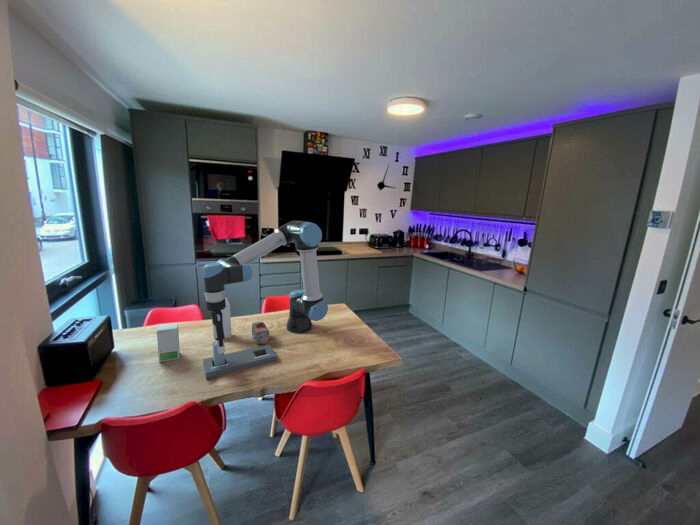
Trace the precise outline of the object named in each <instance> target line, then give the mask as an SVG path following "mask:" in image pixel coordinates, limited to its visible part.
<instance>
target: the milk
mask: <svg viewBox="0 0 700 525" xmlns="http://www.w3.org/2000/svg"><path fill="white" fill-rule="evenodd" d="M225 301H226V307H225V308H224V309H223V310H221V312H222V319H223V330H224V337H225V339H230V338H232V323H231V322H232V320H231V317H232V316H231V304H230V302H229V298H228V297H225ZM225 339H224V340H225Z"/></svg>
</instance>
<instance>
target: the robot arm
mask: <svg viewBox="0 0 700 525" xmlns="http://www.w3.org/2000/svg"><path fill="white" fill-rule="evenodd" d="M322 239H323V232H322V230H321V228H320V227H319V226H318V225H317V224H316V223H313V222H310V221H305V220H304V221H303V220H291V221H289V222H287V223H285V224H283V225H280V227H277V228H276V229H274V232H272V233H271V234H268V236H266V237H264V238H262V239H259V240H258V241H257V242H255V243H253V244H251V245H249V246H248V247H246V248H244V249H242V250H240V251H239V252H237V253H235V254H233V255H231V256H229V257H227V258H221V259H218V260H217V262H211V263H207V264H205V265H203V270H202V271H203V272H202V273H203V284H204V293H203V296H204V297H205V305H206V306H205V308H206V310H207V311H208V312H211V313H210V314H211V320H212V321H211V322H212V329H213V330H212V332H213V340H215V341H216V340H217V348H218V354H219V353H224V354H225V353H226V349H225V348H226V346H225V337H224V330H223V319H222V312H221V310H223V309H224V308H225V307H226V301H225V298H226V289H225V285H231V284H237V283H244V282H247V281H248V282H249V281H250V280H252V279H253V278H252V277H253V269H252V267H251V266H250V264H253V262H255V261H257V260H259V259H260V258H262V257H265V256H266V255H267V254H269V253H271V252H272V251H274V250H275V249H278V248H279V247H281V246H286V245H288V244H291V243H295V250H296V251H298V252H299V259H300V268H301V277H302V286H303V288H302V289H296V290H292V291H290V293H289V296H288V297H289V317H288V319H287V321H286V322H287V323H286V330H287V331H288V332H291V333H294V334H298V333H299V334H301V333H306V332H309V331H311V330H312V328H313V322H314V321H315V322H319V321H322V320H323V319H324V318H325V317H326V315H327V313H328V311H329V306H328V303H327V301H324V294H323V293H322V292H321V289H320V280H319V277H320V276H319V269H318V268H319V267H318V258H317V256H318V255H317V250H318V249H319V244H321V241H322Z"/></svg>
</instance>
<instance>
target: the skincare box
mask: <svg viewBox="0 0 700 525" xmlns="http://www.w3.org/2000/svg"><path fill="white" fill-rule="evenodd" d="M179 332H180V330H179V322H178V323H168V324H160V325H157V328H156V340H157V341H156V342H157V355H158V363H162V362H169V361H174V360H180V353H181V352H180V336H179V335H180V334H179Z"/></svg>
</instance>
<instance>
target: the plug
mask: <svg viewBox="0 0 700 525" xmlns="http://www.w3.org/2000/svg"><path fill="white" fill-rule="evenodd" d="M212 351H213V352H212V353H213V356H212V357H214V367H216V366H220V365H224V364H225V358H224V354H225V352H224V353H219V354H218V348H217V340H215V341H212Z"/></svg>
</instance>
